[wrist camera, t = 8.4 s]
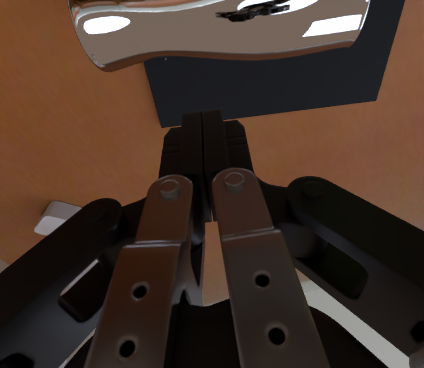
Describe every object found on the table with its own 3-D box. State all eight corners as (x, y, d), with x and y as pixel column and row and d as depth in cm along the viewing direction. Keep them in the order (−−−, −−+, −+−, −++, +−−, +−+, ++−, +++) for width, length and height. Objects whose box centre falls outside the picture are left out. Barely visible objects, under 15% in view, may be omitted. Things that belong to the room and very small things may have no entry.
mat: (99, -103, 17) (97, -104, 16) (447, -161, 16) (452, -163, 15) (161, 125, 27) (161, 128, 26) (374, 98, 26) (376, 100, 26)
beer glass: (40, -73, 13) (388, -137, 12) (103, -35, 20) (335, -73, 18) (84, 86, 16) (369, 54, 15) (126, 75, 23) (329, 52, 21)
